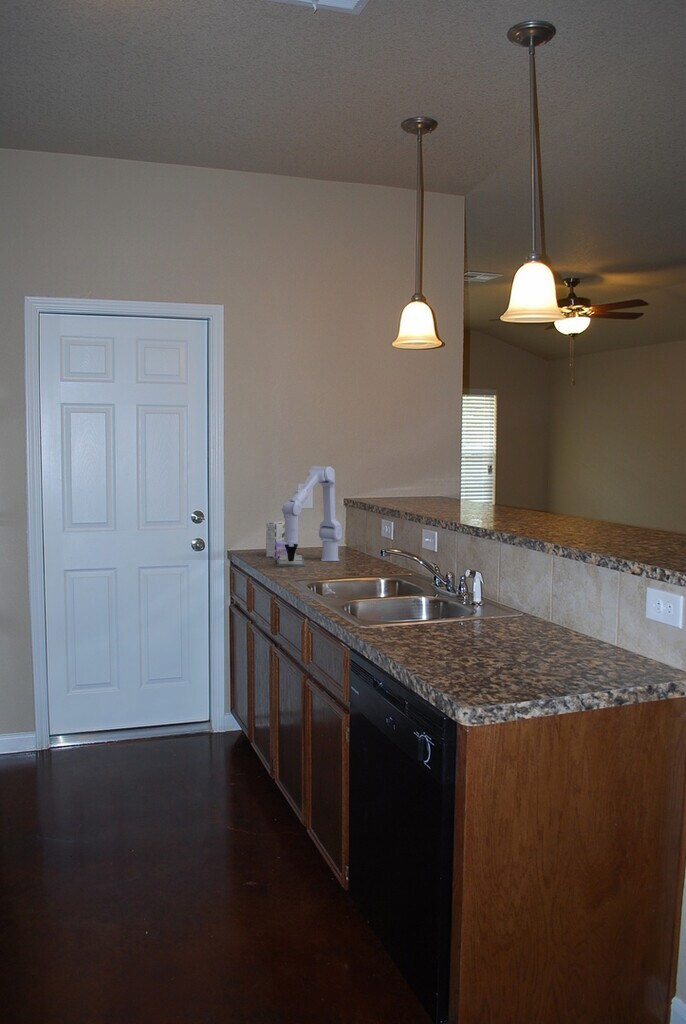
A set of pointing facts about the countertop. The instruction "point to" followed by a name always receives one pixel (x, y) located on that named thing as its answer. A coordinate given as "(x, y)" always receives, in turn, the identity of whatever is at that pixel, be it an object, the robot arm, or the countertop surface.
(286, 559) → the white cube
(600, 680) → the countertop surface
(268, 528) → the candy box
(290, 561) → the rail mat
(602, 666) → the countertop surface
